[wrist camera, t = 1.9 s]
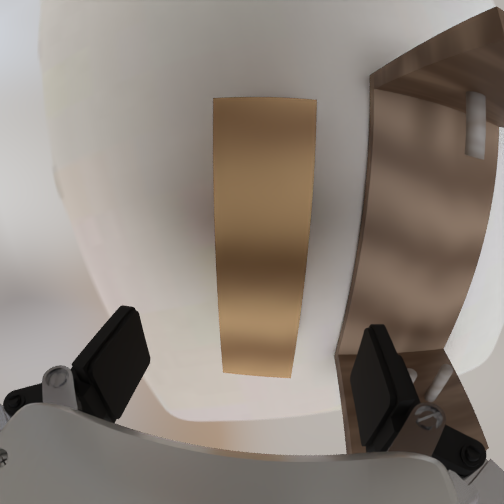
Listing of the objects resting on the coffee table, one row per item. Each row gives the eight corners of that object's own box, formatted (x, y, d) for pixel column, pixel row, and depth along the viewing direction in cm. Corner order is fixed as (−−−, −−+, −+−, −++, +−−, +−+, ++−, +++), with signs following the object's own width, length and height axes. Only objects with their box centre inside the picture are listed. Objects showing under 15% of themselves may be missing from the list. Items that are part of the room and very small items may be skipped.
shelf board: (234, 108, 18) (213, 98, 12) (306, 110, 17) (316, 99, 12) (235, 324, 25) (223, 372, 19) (290, 328, 24) (290, 378, 19)
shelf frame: (369, 75, 15) (496, 6, 2) (492, 112, 14) (619, 132, 1) (334, 356, 25) (349, 489, 12) (435, 350, 24) (480, 455, 11)
